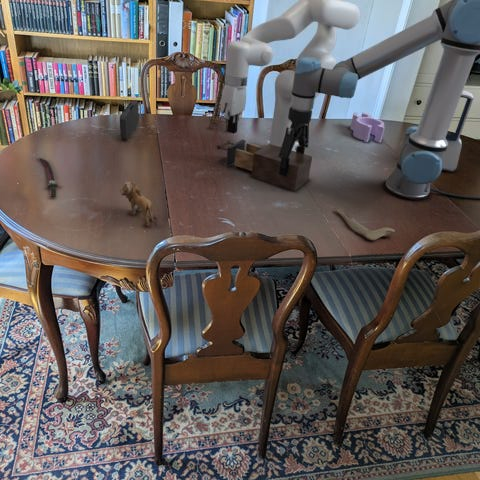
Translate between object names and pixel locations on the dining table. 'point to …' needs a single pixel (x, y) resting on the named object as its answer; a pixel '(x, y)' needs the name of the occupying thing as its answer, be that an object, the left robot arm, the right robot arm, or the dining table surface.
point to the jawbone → (362, 230)
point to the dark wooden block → (269, 167)
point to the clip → (367, 127)
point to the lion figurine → (137, 201)
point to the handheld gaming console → (129, 119)
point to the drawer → (240, 153)
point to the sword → (52, 181)
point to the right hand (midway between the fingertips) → (290, 169)
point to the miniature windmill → (222, 80)
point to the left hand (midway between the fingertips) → (231, 132)
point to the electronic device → (456, 138)
